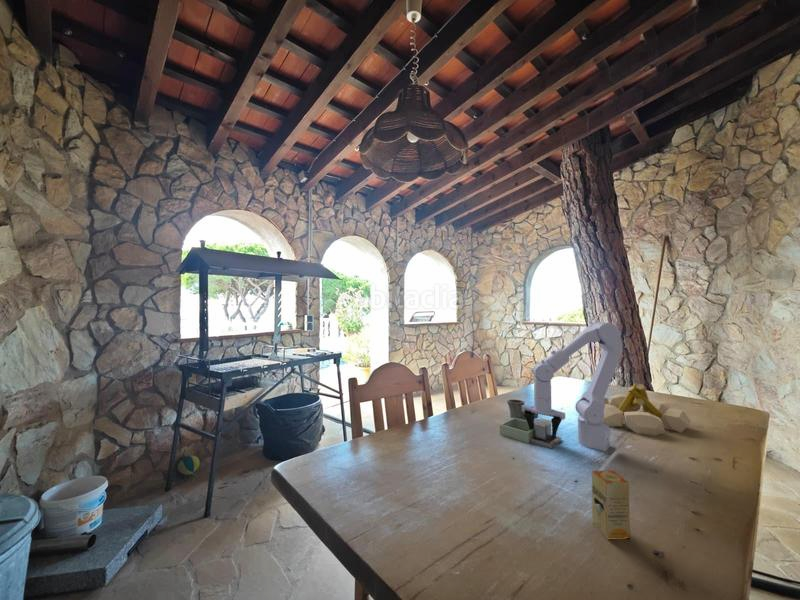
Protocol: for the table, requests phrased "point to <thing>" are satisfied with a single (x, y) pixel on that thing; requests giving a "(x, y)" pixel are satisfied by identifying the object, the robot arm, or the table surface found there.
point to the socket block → (550, 445)
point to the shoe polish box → (610, 504)
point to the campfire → (643, 413)
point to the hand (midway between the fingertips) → (543, 435)
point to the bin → (517, 430)
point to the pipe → (517, 409)
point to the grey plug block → (543, 430)
